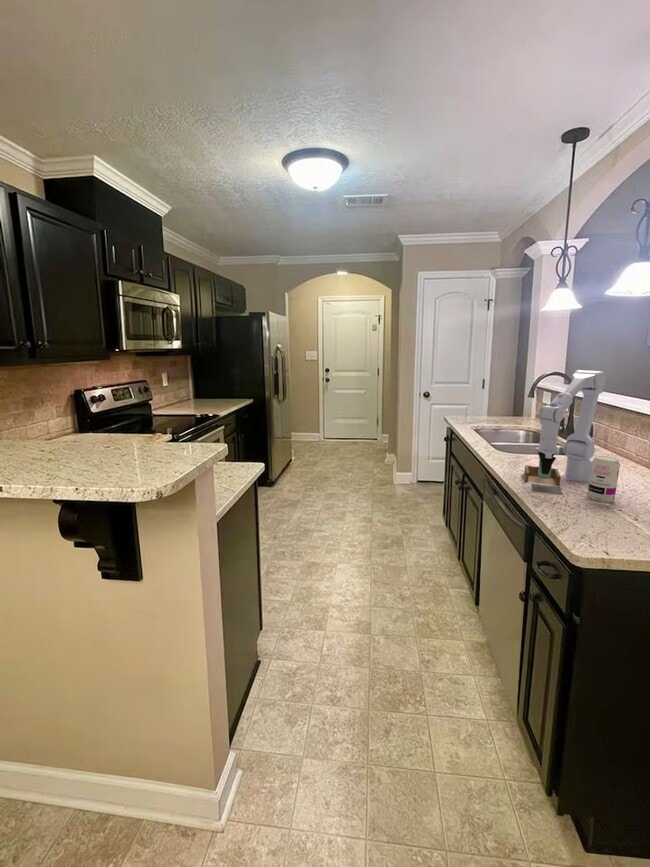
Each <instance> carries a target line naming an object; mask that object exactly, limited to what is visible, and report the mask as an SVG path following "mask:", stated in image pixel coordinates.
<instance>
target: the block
mask: <svg viewBox="0 0 650 867" xmlns="http://www.w3.org/2000/svg"><path fill="white" fill-rule="evenodd" d="M538 461H539V462H538V467H539V468H538V476H540V477H549V478H550V476H551V468H553V467H552V466H553V465H552V466H551V468H550V471H549V474H542V470H541V460H540V458H539V460H538Z"/></svg>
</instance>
